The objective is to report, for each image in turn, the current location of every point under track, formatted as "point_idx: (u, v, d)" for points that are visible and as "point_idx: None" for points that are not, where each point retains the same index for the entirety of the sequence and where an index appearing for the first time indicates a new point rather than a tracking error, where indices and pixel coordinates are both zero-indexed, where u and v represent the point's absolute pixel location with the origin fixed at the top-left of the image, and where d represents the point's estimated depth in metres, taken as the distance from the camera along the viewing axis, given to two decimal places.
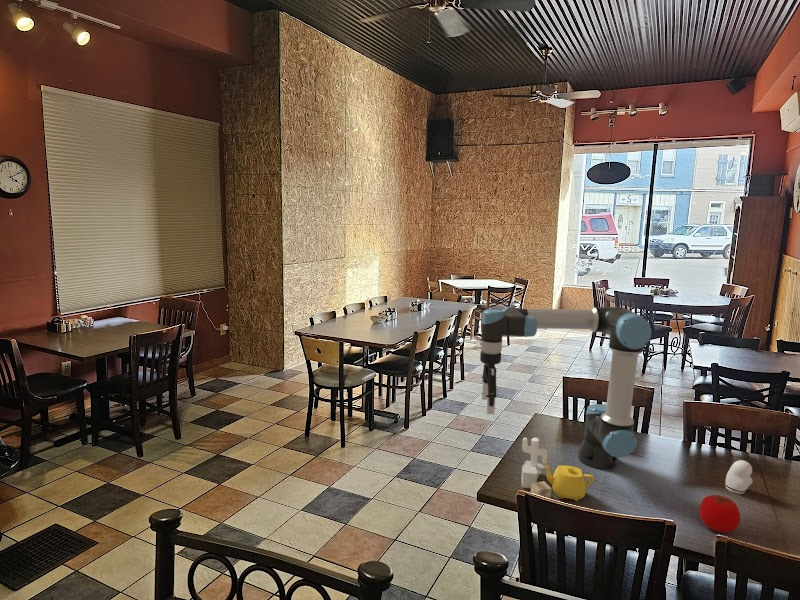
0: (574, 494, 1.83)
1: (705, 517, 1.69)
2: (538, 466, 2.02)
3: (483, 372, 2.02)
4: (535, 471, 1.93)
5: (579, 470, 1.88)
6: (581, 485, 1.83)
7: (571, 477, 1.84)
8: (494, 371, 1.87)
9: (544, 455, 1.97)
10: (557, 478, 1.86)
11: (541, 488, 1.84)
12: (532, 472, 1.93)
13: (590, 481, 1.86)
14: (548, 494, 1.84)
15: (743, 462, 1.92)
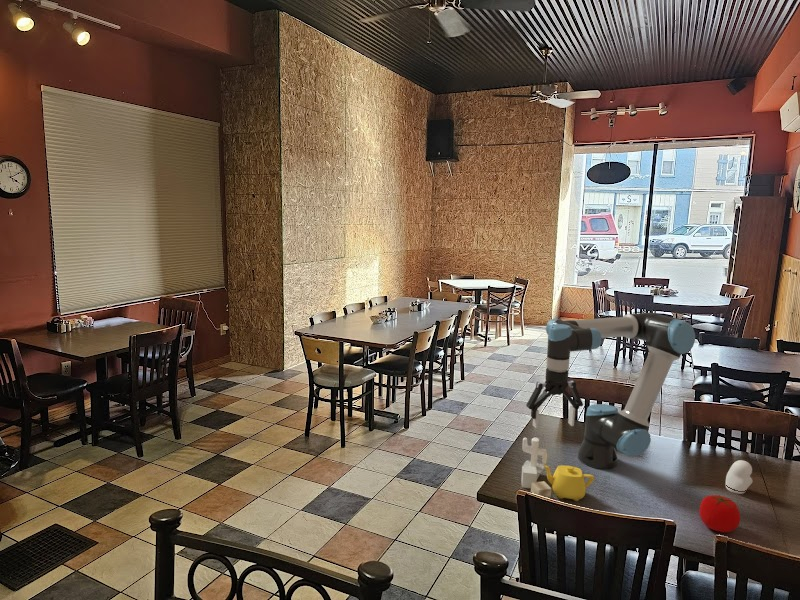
0: (574, 494, 1.83)
1: (705, 517, 1.69)
2: (538, 466, 2.02)
3: (574, 395, 1.88)
4: (535, 471, 1.93)
5: (579, 470, 1.88)
6: (581, 485, 1.83)
7: (571, 477, 1.84)
8: (538, 384, 1.83)
9: (544, 455, 1.97)
10: (557, 478, 1.86)
11: (541, 488, 1.84)
12: (532, 472, 1.93)
13: (590, 481, 1.86)
14: (548, 494, 1.84)
15: (743, 462, 1.92)
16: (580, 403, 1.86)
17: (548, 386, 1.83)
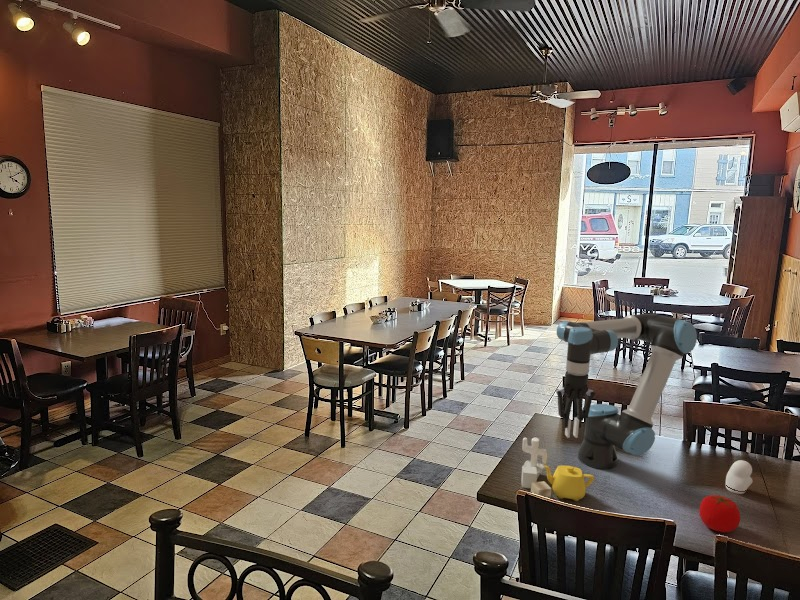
0: (574, 494, 1.83)
1: (705, 517, 1.69)
2: (538, 466, 2.02)
3: None
4: (535, 471, 1.93)
5: (579, 470, 1.88)
6: (581, 485, 1.83)
7: (571, 477, 1.84)
8: (557, 393, 1.82)
9: (544, 455, 1.97)
10: (557, 478, 1.86)
11: (541, 488, 1.84)
12: (532, 472, 1.93)
13: (590, 481, 1.86)
14: (548, 494, 1.84)
15: (743, 462, 1.92)
16: (586, 414, 1.83)
17: (567, 389, 1.81)
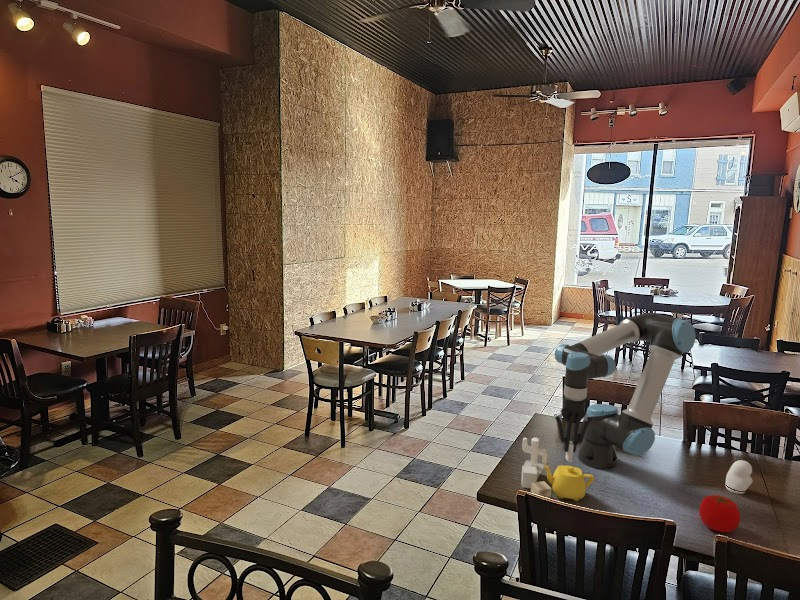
0: (574, 494, 1.83)
1: (705, 517, 1.69)
2: (538, 466, 2.02)
3: (580, 429, 1.86)
4: (535, 471, 1.93)
5: (579, 470, 1.88)
6: (581, 485, 1.83)
7: (571, 477, 1.84)
8: (555, 418, 1.83)
9: (544, 455, 1.97)
10: (557, 478, 1.86)
11: (541, 488, 1.84)
12: (532, 472, 1.93)
13: (590, 481, 1.86)
14: (548, 494, 1.84)
15: (743, 462, 1.92)
16: (580, 439, 1.84)
17: (565, 414, 1.83)
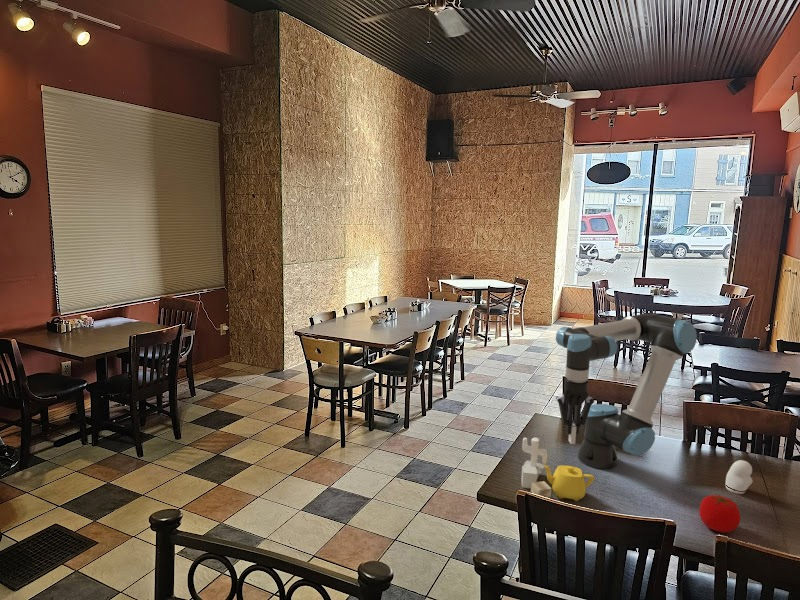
0: (574, 494, 1.83)
1: (705, 517, 1.69)
2: (538, 466, 2.02)
3: (582, 411, 1.85)
4: (535, 471, 1.93)
5: (579, 470, 1.88)
6: (581, 485, 1.83)
7: (571, 477, 1.84)
8: (557, 400, 1.82)
9: (544, 455, 1.97)
10: (557, 478, 1.86)
11: (541, 488, 1.84)
12: (532, 472, 1.93)
13: (590, 481, 1.86)
14: (548, 494, 1.84)
15: (743, 462, 1.92)
16: (583, 421, 1.83)
17: (567, 396, 1.82)
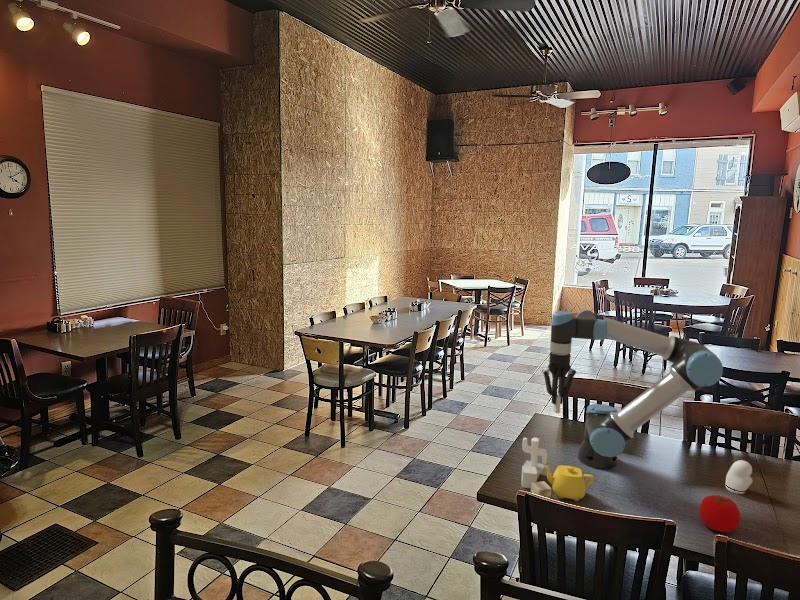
0: (574, 494, 1.83)
1: (705, 517, 1.69)
2: (538, 466, 2.02)
3: None
4: (535, 471, 1.93)
5: (579, 470, 1.88)
6: (581, 485, 1.83)
7: (571, 477, 1.84)
8: (543, 373, 1.98)
9: (544, 455, 1.97)
10: (557, 478, 1.86)
11: (541, 488, 1.84)
12: (532, 472, 1.93)
13: (590, 481, 1.86)
14: (548, 494, 1.84)
15: (743, 462, 1.92)
16: (566, 391, 2.00)
17: (552, 369, 1.98)
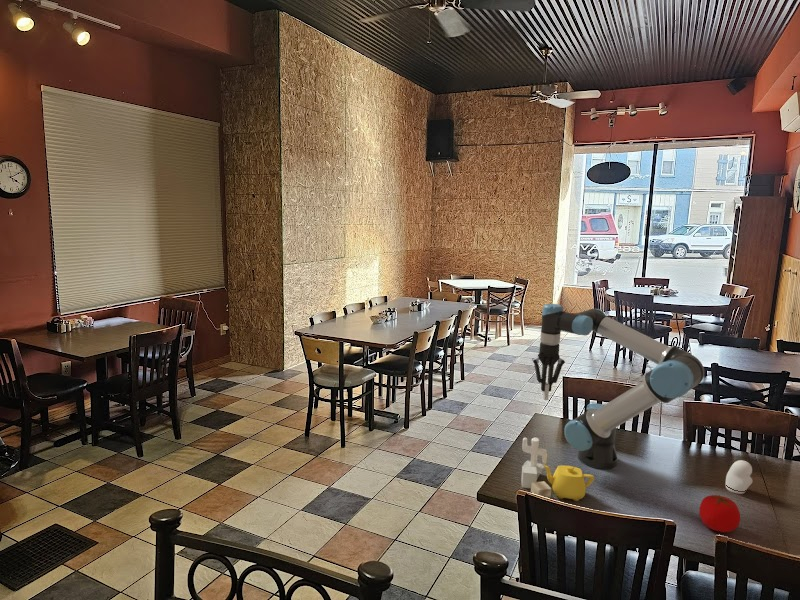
0: (574, 494, 1.83)
1: (705, 517, 1.69)
2: (538, 466, 2.02)
3: (555, 372, 2.14)
4: (535, 471, 1.93)
5: (579, 470, 1.88)
6: (581, 485, 1.83)
7: (571, 477, 1.84)
8: (533, 361, 2.11)
9: (544, 455, 1.97)
10: (557, 478, 1.86)
11: (541, 488, 1.84)
12: (532, 472, 1.93)
13: (590, 481, 1.86)
14: (548, 494, 1.84)
15: (743, 462, 1.92)
16: (555, 379, 2.12)
17: (541, 358, 2.10)
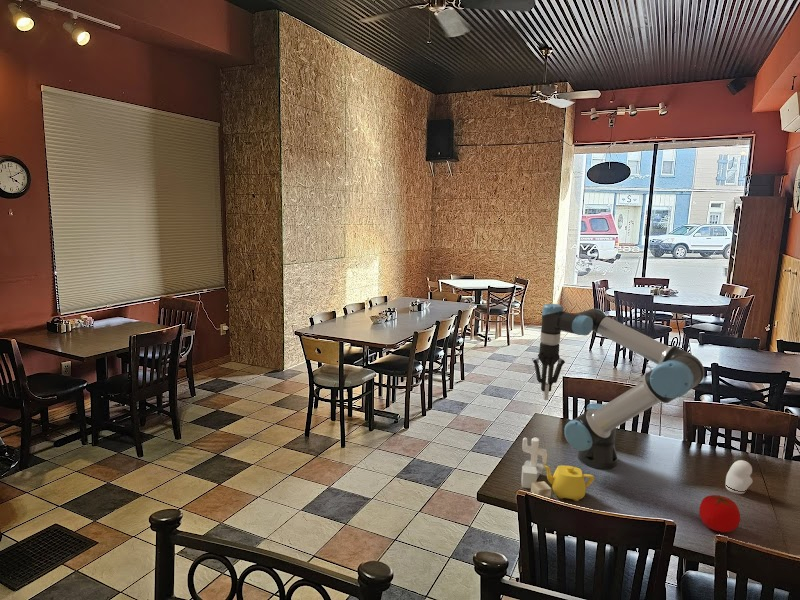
0: (574, 494, 1.83)
1: (705, 517, 1.69)
2: (538, 466, 2.02)
3: (555, 372, 2.14)
4: (535, 471, 1.93)
5: (579, 470, 1.88)
6: (581, 485, 1.83)
7: (571, 477, 1.84)
8: (533, 361, 2.11)
9: (544, 455, 1.97)
10: (557, 478, 1.86)
11: (541, 488, 1.84)
12: (532, 472, 1.93)
13: (590, 481, 1.86)
14: (548, 494, 1.84)
15: (743, 462, 1.92)
16: (555, 379, 2.12)
17: (541, 358, 2.10)
